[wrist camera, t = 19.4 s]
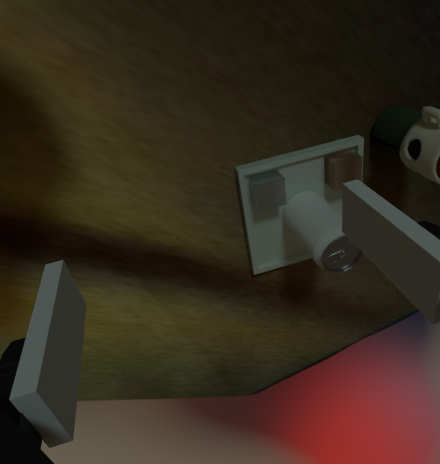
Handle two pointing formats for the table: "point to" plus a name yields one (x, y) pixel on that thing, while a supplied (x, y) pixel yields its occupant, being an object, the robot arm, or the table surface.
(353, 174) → the walnut block
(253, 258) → the tray
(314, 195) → the can
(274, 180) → the grey metal block
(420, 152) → the character mug
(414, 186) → the table surface
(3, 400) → the robot arm
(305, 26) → the table surface
